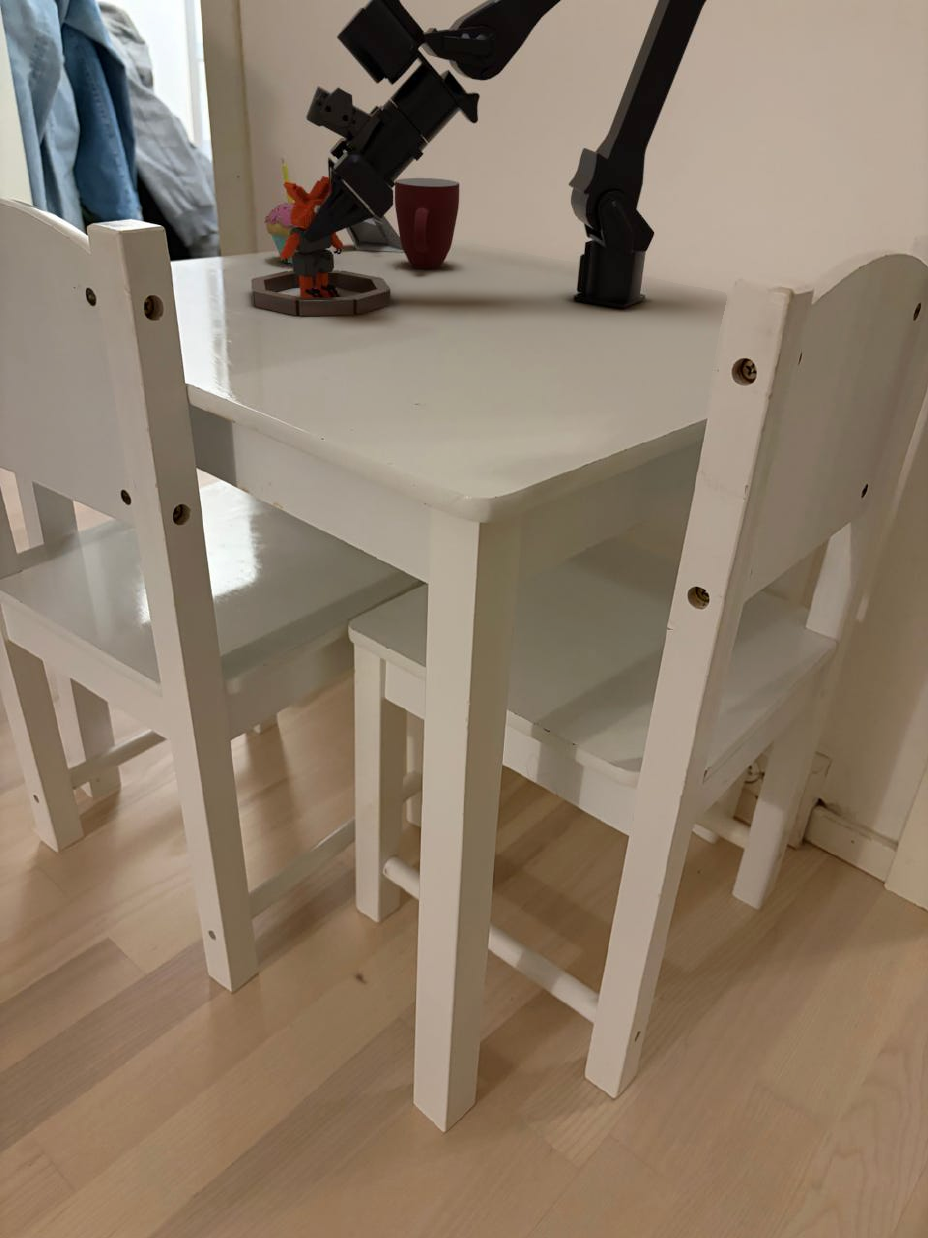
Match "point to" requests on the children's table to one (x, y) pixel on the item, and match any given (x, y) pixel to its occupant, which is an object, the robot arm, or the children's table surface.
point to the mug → (426, 219)
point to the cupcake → (281, 219)
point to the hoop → (320, 306)
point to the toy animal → (310, 255)
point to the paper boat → (375, 235)
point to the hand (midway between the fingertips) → (306, 234)
